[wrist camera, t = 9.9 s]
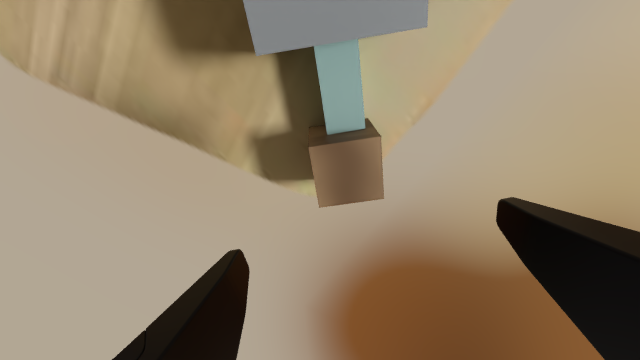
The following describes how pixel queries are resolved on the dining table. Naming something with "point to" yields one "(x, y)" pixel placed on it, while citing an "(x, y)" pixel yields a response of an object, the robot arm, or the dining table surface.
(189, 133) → the dining table surface
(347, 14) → the cover
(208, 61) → the dining table surface
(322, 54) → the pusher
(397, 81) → the dining table surface
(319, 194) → the block
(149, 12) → the dining table surface
